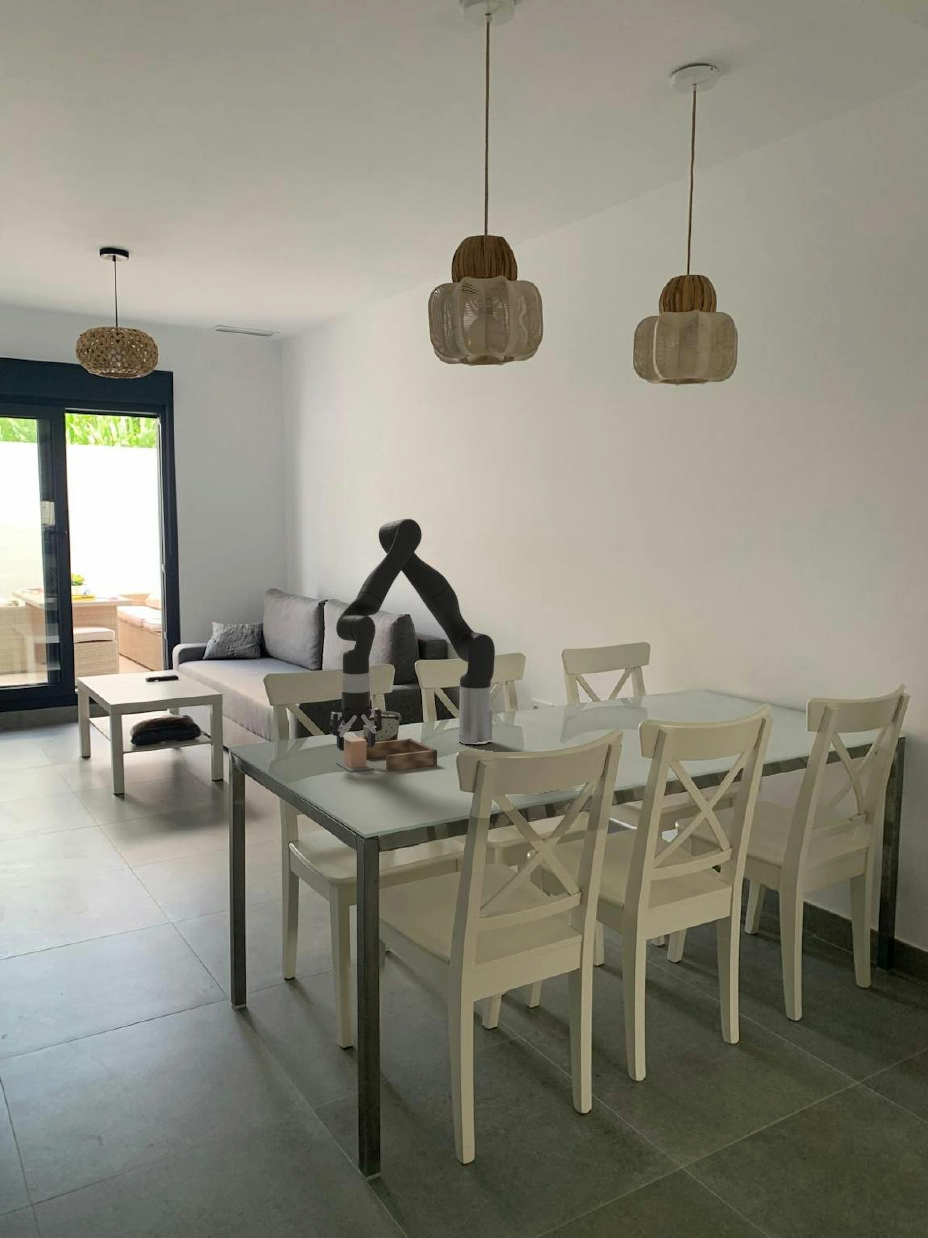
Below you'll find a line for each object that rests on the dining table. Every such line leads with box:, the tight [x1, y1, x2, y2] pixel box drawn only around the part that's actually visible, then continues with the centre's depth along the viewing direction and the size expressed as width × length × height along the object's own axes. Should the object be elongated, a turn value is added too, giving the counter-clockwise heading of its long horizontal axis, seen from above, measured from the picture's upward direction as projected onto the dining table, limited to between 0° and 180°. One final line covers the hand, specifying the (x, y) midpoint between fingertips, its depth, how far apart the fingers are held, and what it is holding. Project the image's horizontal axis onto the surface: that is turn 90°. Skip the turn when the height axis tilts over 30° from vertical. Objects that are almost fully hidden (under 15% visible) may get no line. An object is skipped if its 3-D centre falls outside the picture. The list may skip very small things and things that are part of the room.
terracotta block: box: [343, 736, 367, 768], centre depth 260 cm, size 4×4×7 cm
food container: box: [362, 710, 403, 743], centre depth 284 cm, size 12×6×10 cm, turn 111°
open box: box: [366, 738, 438, 772], centre depth 266 cm, size 15×16×4 cm
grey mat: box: [335, 760, 375, 773], centre depth 260 cm, size 7×10×1 cm
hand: (356, 748), depth 260 cm, fingers open, 8 cm apart
